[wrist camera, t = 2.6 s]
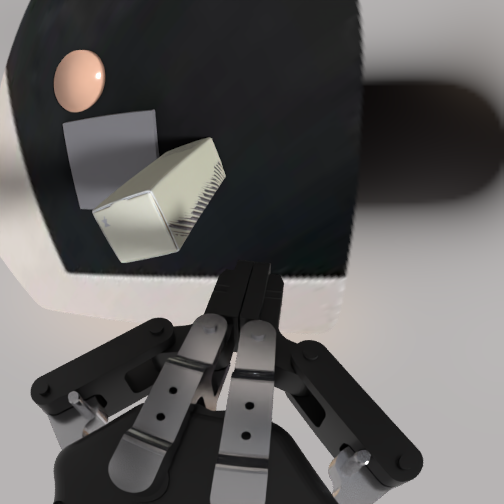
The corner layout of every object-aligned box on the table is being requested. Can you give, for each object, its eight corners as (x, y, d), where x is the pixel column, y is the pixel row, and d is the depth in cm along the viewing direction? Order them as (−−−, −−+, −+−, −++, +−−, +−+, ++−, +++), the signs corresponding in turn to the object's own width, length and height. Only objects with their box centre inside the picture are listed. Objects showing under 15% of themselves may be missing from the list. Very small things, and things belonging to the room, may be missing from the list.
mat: (65, 122, 26) (62, 123, 26) (154, 109, 25) (152, 110, 24) (83, 206, 33) (80, 208, 32) (166, 210, 31) (163, 213, 31)
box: (182, 189, 29) (117, 266, 19) (165, 150, 27) (86, 212, 17) (229, 175, 28) (180, 255, 17) (214, 133, 26) (148, 189, 15)
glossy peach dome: (56, 58, 22) (51, 59, 21) (103, 42, 21) (98, 42, 20) (61, 114, 26) (57, 116, 25) (107, 105, 25) (103, 107, 24)
